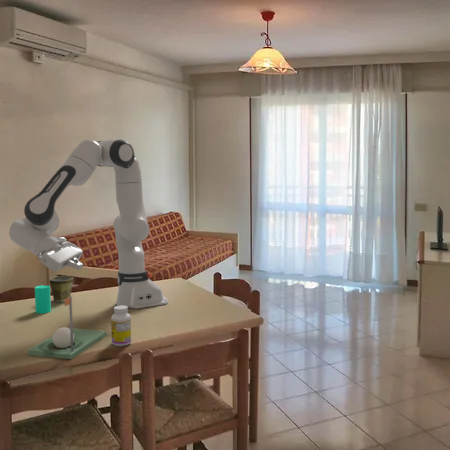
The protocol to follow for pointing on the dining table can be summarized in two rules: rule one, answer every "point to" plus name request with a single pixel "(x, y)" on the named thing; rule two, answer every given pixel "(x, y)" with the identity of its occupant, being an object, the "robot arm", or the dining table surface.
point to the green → (80, 343)
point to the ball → (62, 338)
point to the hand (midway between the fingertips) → (81, 267)
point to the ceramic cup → (61, 287)
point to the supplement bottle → (121, 326)
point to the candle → (42, 299)
